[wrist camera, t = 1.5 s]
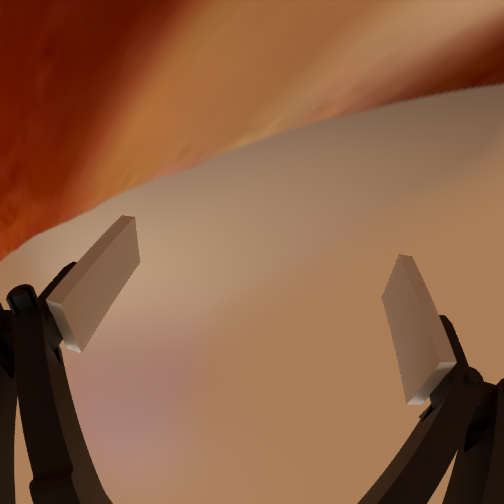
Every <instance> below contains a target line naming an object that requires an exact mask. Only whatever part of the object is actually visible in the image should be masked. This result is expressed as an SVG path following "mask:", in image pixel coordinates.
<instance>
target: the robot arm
mask: <svg viewBox="0 0 504 504" xmlns="http://www.w3.org/2000/svg"><path fill="white" fill-rule="evenodd" d="M139 263H140V257H139V250H138V241H137V232H136V223H135V217H130V216H121V217H120V218H119V219H118V220H117V221H116V222H115V223H114V224H113V225H112V226H111V227H110V228H109V229H108V230H107V231H106V232H105V233H104V234H103V235H102V236H101V238H99V240H98V241H97V242H96V243H95V244H94V245H93V246H92V247H91V248H90V249H89V250H88V251H87V252H86V253H85V255H84V256H83V257H82V258H81V259H80V260H79V261H78V262H72V263H70V264H69V265H67V266H65V267H64V268H63V269H62V270H61V271H60V272H59V273H58V276H56V277H55V278H54V279H53V281H52V282H51V283H50V284H49V285H48V286H47V287H46V288H45V290H44V291H43V292H42V293H41V294H40V296H39V297H38V298H37V295H36V293H35V290H34V288H33V287H32V286H31V285H28V284H23V285H19V286H17V287H15V288H13V289H12V290H11V291H10V292H9V293H8V295H7V298H6V300H7V302H8V304H9V307H10V309H11V310H3V307H2V305H1V303H0V504H15V483H14V435H15V418H16V406H17V396H18V400H19V408H20V415H21V421H22V427H23V433H24V437H25V443H26V447H27V452H28V456H29V460H30V464H31V468H32V472H33V480H32V481H31V482H30V485H29V488H30V494H31V497H32V500H33V503H34V504H113V503H112V502H111V500H110V499H109V498H108V496H107V495H106V493H105V491H104V490H103V487H102V485H101V483H100V480H99V478H98V475H97V473H96V471H95V468H94V465H93V463H92V460H91V457H90V455H89V452H88V449H87V446H86V443H85V440H84V437H83V434H82V431H81V428H80V425H79V421H78V418H77V415H76V411H75V408H74V404H73V400H72V396H71V393H70V389H69V385H68V380H67V376H66V372H65V367H64V362H63V357H62V352H61V349H60V347H59V344H60V343H61V341H62V340H64V342H65V345H66V347H67V348H68V349H70V350H73V351H77V352H79V353H82V352H83V350H84V348H85V347H86V345H87V343H88V342H89V340H90V338H91V337H92V335H93V333H94V332H95V330H96V328H97V327H98V325H99V324H100V322H101V321H102V319H103V317H104V316H105V314H106V313H107V311H108V310H109V308H110V306H111V305H112V303H113V302H114V300H115V299H116V297H117V296H118V294H119V293H120V291H121V289H122V288H123V287H124V285H125V284H126V282H127V280H128V279H129V278H130V276H131V275H132V273H133V272H134V270H135V269H136V268H137V266H138V265H139ZM382 300H383V303H384V307H385V311H386V315H387V319H388V323H389V326H390V330H391V334H392V339H393V342H394V347H395V350H396V355H397V360H398V364H399V369H400V374H401V379H402V383H403V388H404V394H405V399H406V404H407V405H408V404H423V403H424V401H425V400H426V399H427V398H428V397H429V396H430V400H431V404H430V406H429V407H428V408H427V409H426V410H425V411H424V412H423V413H422V414H421V415H420V416H419V418H421V419H420V421H419V422H418V424H417V425H416V427H415V429H414V430H413V432H412V433H411V435H410V436H409V438H408V439H407V441H406V442H405V444H404V445H403V446H402V448H401V449H400V451H399V452H398V453H397V455H396V456H395V458H394V459H393V460H392V462H391V463H390V464H389V466H388V467H387V468H386V470H385V471H384V472H383V474H382V475H381V476H380V477H379V479H378V480H377V481H376V482H375V484H374V485H373V486H372V487H371V488H370V490H369V491H368V492H367V493H366V494H365V496H364V497H363V498H362V499H361V500H360V501H359V502H358V504H427V503H428V501H429V499H430V498H431V496H432V494H433V493H434V491H435V490H436V488H437V486H438V485H439V483H440V481H441V480H442V478H443V476H444V474H445V473H446V471H447V469H448V467H449V465H450V463H451V461H452V459H453V458H454V456H455V454H456V452H457V455H456V459H455V463H454V467H453V470H452V474H451V477H450V481H449V484H448V487H447V491H446V494H445V497H444V500H443V503H442V504H504V378H503V379H501V380H500V382H499V383H498V384H497V385H494V384H491V383H487V382H484V381H483V377H482V376H481V375H480V373H479V372H478V371H477V370H476V369H474V368H472V367H469V365H468V363H467V360H466V357H465V355H464V352H463V349H462V347H461V345H460V342H459V339H458V337H457V335H456V332H455V330H454V327H453V325H452V323H451V322H450V321H449V320H448V318H447V317H446V316H444V315H438V312H437V310H436V307H435V305H434V303H433V300H432V298H431V296H430V294H429V291H428V289H427V287H426V285H425V282H424V281H423V278H422V276H421V274H420V272H419V270H418V268H417V266H416V263H415V261H414V259H413V257H412V256H406V255H398V258H397V260H396V263H395V266H394V268H393V271H392V274H391V276H390V278H389V281H388V283H387V286H386V288H385V291H384V293H383V295H382ZM457 450H458V451H457Z"/></svg>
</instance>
